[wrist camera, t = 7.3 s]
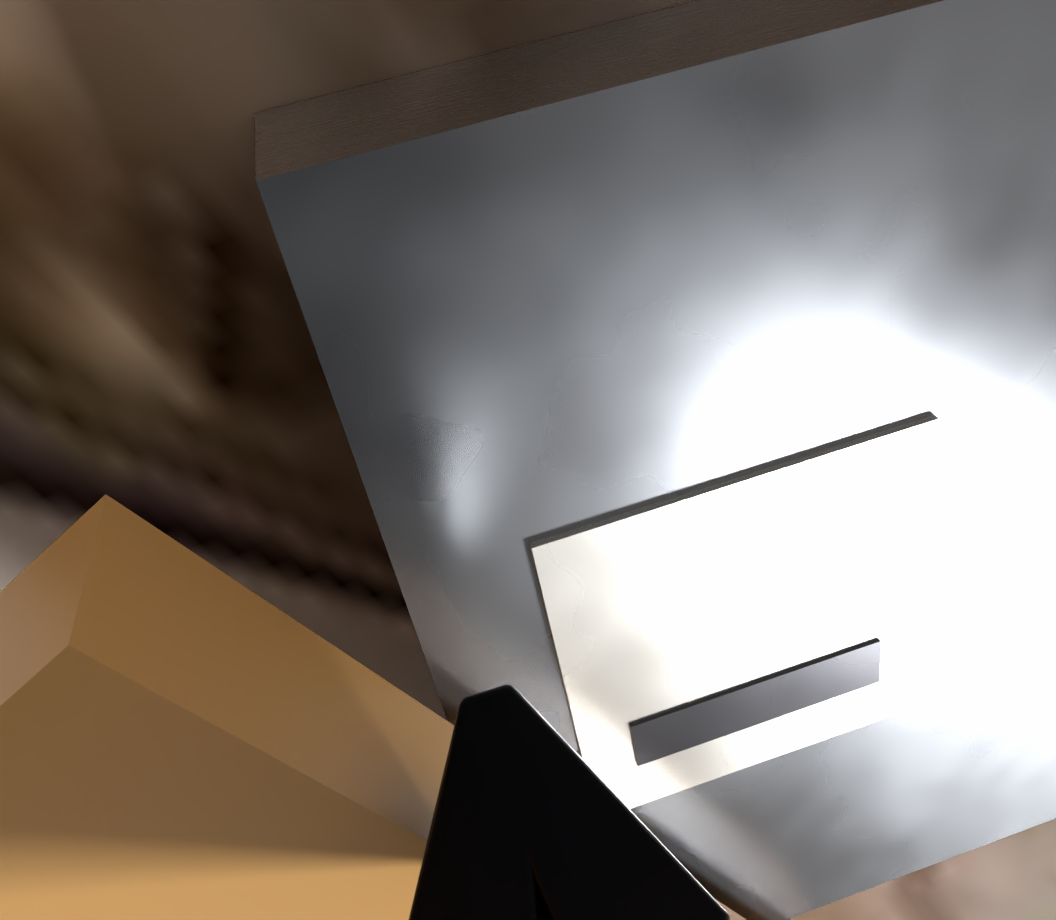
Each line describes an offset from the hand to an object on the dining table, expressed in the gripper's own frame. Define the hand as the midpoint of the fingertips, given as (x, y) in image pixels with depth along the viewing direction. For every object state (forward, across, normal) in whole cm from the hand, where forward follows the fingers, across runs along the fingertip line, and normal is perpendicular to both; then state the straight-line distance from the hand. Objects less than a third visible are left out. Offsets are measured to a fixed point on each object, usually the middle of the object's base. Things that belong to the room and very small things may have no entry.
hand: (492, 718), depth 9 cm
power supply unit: (+5, -7, +4) cm, 9 cm away
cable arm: (+1, 0, +5) cm, 5 cm away
